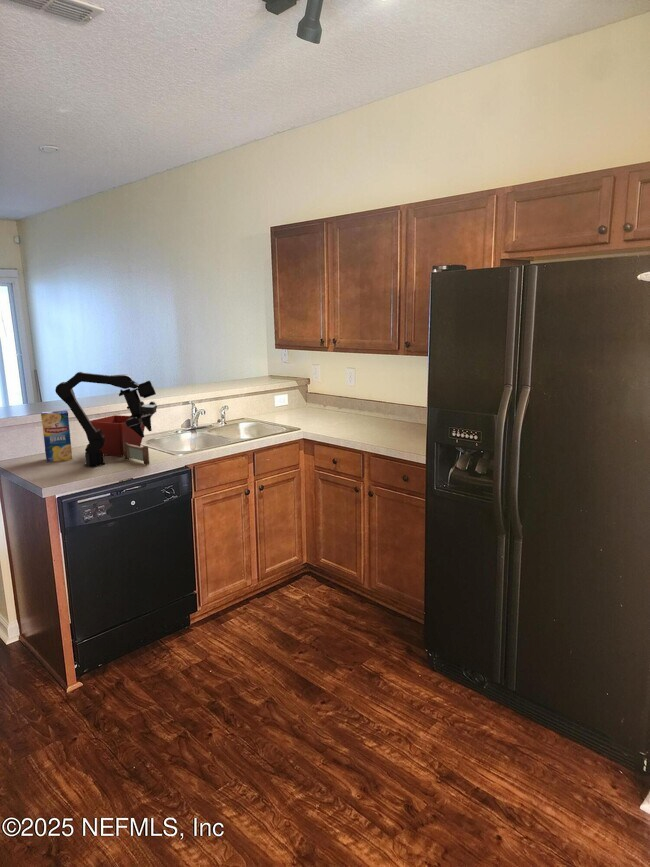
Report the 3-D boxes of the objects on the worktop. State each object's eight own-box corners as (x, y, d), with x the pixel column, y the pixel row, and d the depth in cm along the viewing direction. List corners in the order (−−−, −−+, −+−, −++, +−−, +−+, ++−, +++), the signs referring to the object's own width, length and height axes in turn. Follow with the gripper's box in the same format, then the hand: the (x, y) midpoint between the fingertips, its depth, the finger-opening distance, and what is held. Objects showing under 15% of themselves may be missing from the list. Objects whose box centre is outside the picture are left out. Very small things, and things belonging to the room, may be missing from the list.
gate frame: (145, 464, 252) (144, 447, 251) (123, 459, 263) (121, 442, 261) (150, 463, 254) (149, 446, 253) (127, 458, 265) (126, 441, 263)
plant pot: (117, 447, 287) (114, 414, 283) (149, 450, 280) (146, 416, 277) (90, 456, 269) (86, 421, 266) (123, 459, 263) (120, 423, 259)
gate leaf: (142, 461, 254) (141, 448, 253) (127, 457, 261) (126, 444, 260) (145, 460, 255) (145, 447, 254) (130, 456, 263) (129, 443, 261)
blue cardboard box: (45, 459, 264) (40, 412, 259) (71, 456, 269) (67, 410, 264) (46, 462, 258) (41, 414, 253) (72, 459, 263) (68, 412, 258)
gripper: (142, 402, 242) (156, 436, 247) (157, 392, 260) (169, 423, 264) (118, 409, 244) (132, 442, 248) (135, 398, 262) (148, 429, 266)
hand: (146, 434), depth 257 cm, fingers open, 9 cm apart
